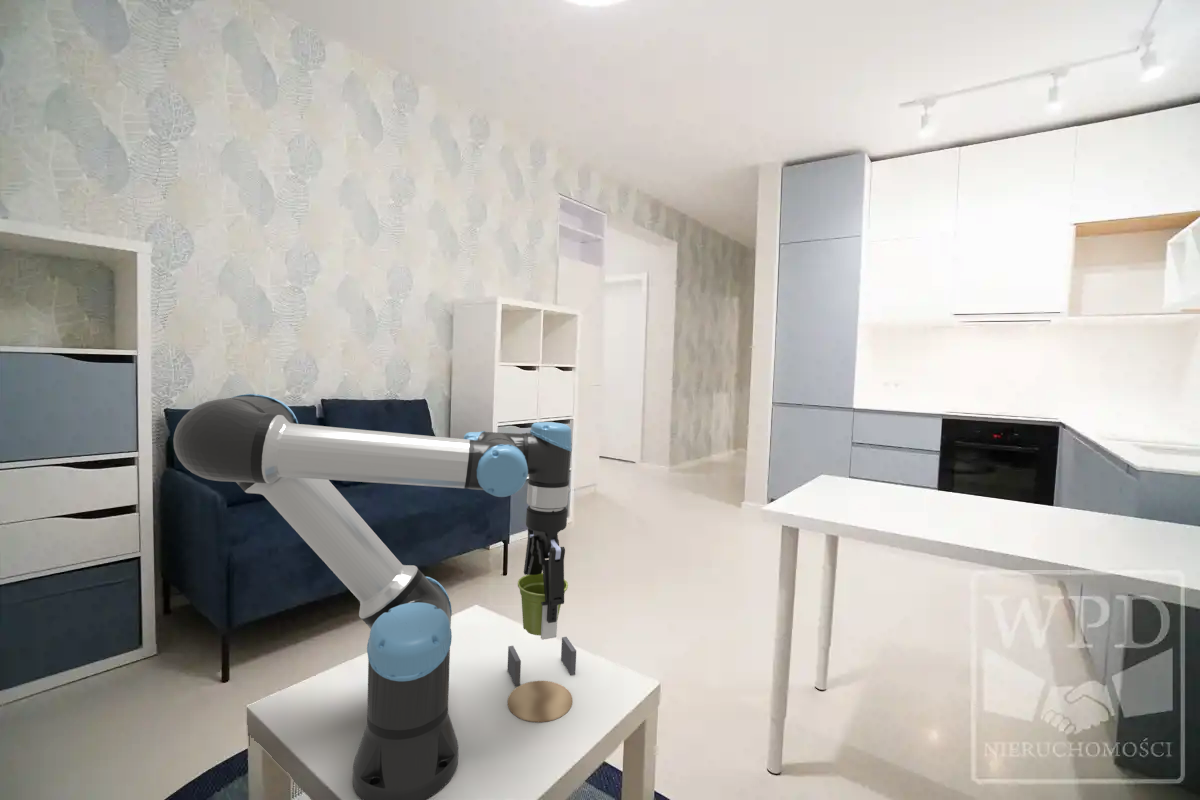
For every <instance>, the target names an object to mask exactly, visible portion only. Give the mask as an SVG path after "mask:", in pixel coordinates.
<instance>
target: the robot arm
mask: <svg viewBox="0 0 1200 800" xmlns="http://www.w3.org/2000/svg"><path fill="white" fill-rule="evenodd" d="M172 442H173V449H174V453H175V455H176V457H177V459H178V461H179V462H180V463H181V465H182V466H183V467H184V468H185V469H186V470H188V471H190V473H192V474H194V475H195V476H198V477H200V478H202V479H206V480H210V481H216V482H227V483H228V482H230V483H232V482H234V483H236V484H237V485H238V486H239V487H240V488H241V489H242V490H243V492H244V493H246V494H256V495H262V496H263V497H264V498H265V499H266V500H267V501H268V502H269V503H270V505H271V506H272V507H273V508H274V509H275V510H276V511H277V512H278V513H279V514H280V516H282V518H283V519H284V520H285V521H286V522H287V523H288V524H289V526H291V528H292V529H293V530H294V531H295V532H296V533H297V534H298V535H299V536H300V538H302V540H303V541H304V542H305V543H306V544H307V545H308V546H309V547H310V549H312V551H313V552H314V553H315V554H316V555H317V556H318V557H319V558H320V559H321V560H322V562H324V563H325V565H326V566H327V567H328V568H329V569H330V571H332V572H333V574H334V575H335V576H336V577H337V579H339V581H340V582H342V583H343V585H344V586H345V587H346V588H347V589H348V590H349V591H350V592H351V593H352V594H353V596H355V598H356V599H357V600H358V602H359V604H360V605H359V612H358V616H359V618H360V619H361V620H362V621H363V622H364V624H366V626H367V627H368V628H369V629H370V631H369V637H368V640H367V646H366V653H367V661H368V664H367V669H368V670H367V699H366V700H367V703H366V704H367V705H366V707H367V708H366V711H367V712H366V713H367V715H366V716H367V717H366V718H367V719H366V727H365V729H364V732H363V735H362V738H361V740H360V743H359V747H358V748H357V749H358V750H357V751H356V755H355V757H354V761H353V765H352V767H353V768H352V784H353V789H354V791H355V793H356V795H357V796H359V798H361V800H426V799H428V798H430V797H431V796H433V795H435V794H437V793H438V792H439V791H440V790H442V789H443V788H444V787H445V786H447V784H448V783H449V782H450V781H451V780H452V778H453V777H454V774H455V772H456V771H457V769H458V764H459V744H458V743H459V742H458V738H457V736H456V732H455V729H454V727H453V724H452V721H451V717H450V714H449V690H450V664H451V662H450V660H451V659H450V657H451V645H452V637H453V636H452V628H451V626H452V614H453V613H452V603H451V601H450V597H449V594H448V593H447V590H446V589H445V587H444V586H443V585H442V584H441V583H440V582H439V581H437V580H436V579H434V578H432V577H430V576H425V574H424V573H423V572H422V571H421V570H420V569H419V568H418V566H416V565H411V564H409V565H408V564H407V565H406V564H402V562H401V561H400V560H399V558H397V557H396V556H395V555H394V553H393V552H392V551H391V550H390V549H389V548H388V546H387V545H386V544H385V543H384V542H383V541H382V539H380V537H379V536H378V535H377V534H376V532H374V530H373V529H372V528H371V527H370V526H369V525H368V523H367V522H366V521H365V520H364V519H363V518H362V517H361V515H360V514H359V513H358V512H357V511H356V510H355V508H354V507H353V506H352V505H351V504H350V503H349V501H348V500H347V499H346V498H345V497H344V495H342V494H341V492H340V491H339V490H338V489H337V488H336V487H335V486H334V485H333V484H332V482H331V481H343V482H360V483H361V482H362V483H374V484H375V483H376V484H391V485H408V486H422V487H423V486H424V487H438V488H453V489H455V488H456V489H469V490H477V491H479V490H480V491H484V492H485V493H487V494H490V495H492V496H494V497H498V498H505V497H509V496H513V495H515V494H516V493H517V492H519V491H520V490H521V489H522V488H523V487H524V485H525V484H526V481H528V482H527V492H526V493H527V495H526V504H527V505H528V506H527V508H526V516H525V526H526V527H527V542H526V543H527V544H526V549H525V550H526V551H525V560H524V567H523V575H524V576H526V575H538V574H542V573H543V581H544V594H545V602H541V604H542V606H543V607H542V624H541V635H540V639H541V640H549V639H555V638H557V635H558V634H557V631H558V620H557V618H558V619H559V615H558V605H559V604H561V605H563V604H565V593H564V579H565V553H566V547H565V546H560V540H559V535H558V534H559V532H562V531H564V530H565V529H566V528H567V525H568V524H567V523H568V509H567V506H568V502H569V500H568V499H569V493H570V492H571V488H570V487H569V485H570V473H571V472H570V471H571V470H570V469H571V457H572V451H573V449H572V429H571V427H570V426H569V425H568V424H566V423H560V422H554V421H553V422H552V421H551V422H550V421H545V422H544V421H543V422H542V421H537V422H534V423H532V424H531V427H530V430H529V432H526V433H522V432H521V433H515V432H514V433H513V432H510V433H509V432H491V431H485V430H482V431H469V432H466V433H465V434H464V435H463V438H458V437H457V438H456V437H455V438H454V437H444V436H431V435H423V434H411V433H401V432H391V431H381V430H367V429H358V428H357V429H356V428H347V427H346V428H345V427H335V426H324V425H313V424H303V423H301V424H300V423H299V421H298V419H297V417H296V415H295V413H294V411H293V410H292V409H291V408H290V407H289V406H288V405H287V404H286V403H284V402H283V401H282V400H279V399H277V398H275V397H273V396H268V395H263V394H260V393H259V394H256V393H247V394H246V393H245V394H239V395H235V396H232V397H229V398H220V399H219V398H218V399H213V400H208V401H205V402H203V403H201V404H198V405H196V406H194V408H192V409H190V410H189V411H188V412H186V413H185V414H184V416H182V418H181V419H180V421H179V422H178V423H177V425H176V427H175V431H174V434H173V441H172ZM527 478H528V480H527ZM330 480H331V481H330Z"/></svg>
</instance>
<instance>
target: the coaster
mask: <svg viewBox="0 0 1200 800" xmlns="http://www.w3.org/2000/svg"><path fill="white" fill-rule="evenodd" d="M507 706H508V707H507V708H508V709H509V711H510V713H511V714H513V716H515V717H516V718H518V719H520V720H523V721H526V722H529V723H548V722H553V721H555V720H558V719H560V718H562V717H564V716H565V715H566V714H567V713H568V712H569V711H570V710H571V708H572V706H573V695H572V694H571V692H570V690H569V689H568V688H566V687H565V686H563V685H562V684H560V683H557V682H553V681H549V680H534V681H530V682H525V683H523V684H520V686H516V687H515V688H514V689H513V690H512V691H511V692H510V694H509V695H508V697H507Z"/></svg>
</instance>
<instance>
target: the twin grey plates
mask: <svg viewBox="0 0 1200 800" xmlns="http://www.w3.org/2000/svg"><path fill="white" fill-rule="evenodd" d="M507 650H508V651H507V668H506V669H507V672H508V674H509V676H510V679H511V681H512V684H513V685H514V687H518V686H520V685H521V669H522V668H521V666H522V665H521V664H522V660H521V658H520V656H519V654H518V653H517V650H516V649H515V647H514V645H508V646H507ZM560 652H561V654H560V655H561V656H560V661H561V662H562V663H563V664H562V665H563V666H564V667H565V669H566V670H567V671H568V673H569V674H570V676H573V675H576V666H577V649H576V648H575V647H574V645H573V644H572V642H571V641H570V639H568V637H567V636H563V637H561V651H560Z"/></svg>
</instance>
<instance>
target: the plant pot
mask: <svg viewBox="0 0 1200 800" xmlns="http://www.w3.org/2000/svg"><path fill="white" fill-rule="evenodd" d="M568 586H569V584H568V581H567V580H566V579H565V578H564V594H565V593H566V591H568V588H569V587H568ZM517 587H518V589H519V594H520V597H521V609H522V610H521V611H522V627H523V630H525V631H526V632H527V633H528V634H530V635H534V636H540V637H541V624H542V607H543V606H542V604H541V602H545V594H544V581H543V572H542V574H538V575H523V576H522V577H520V578H519V579H518V580H517ZM561 605H562V604H559V605H558V616H559V615H560V610H561ZM558 619H559V617H558V618H557V621H558Z"/></svg>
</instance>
